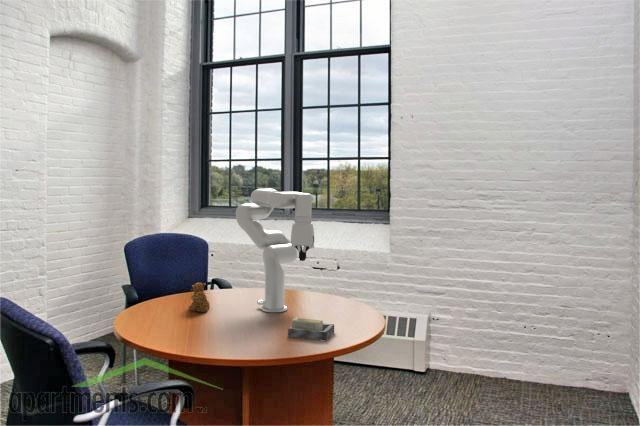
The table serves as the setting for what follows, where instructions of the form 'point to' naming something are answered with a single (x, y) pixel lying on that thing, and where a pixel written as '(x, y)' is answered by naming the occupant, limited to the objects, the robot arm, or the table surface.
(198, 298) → the brown teddy bear
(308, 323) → the skincare box
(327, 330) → the u rest
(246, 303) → the table surface
